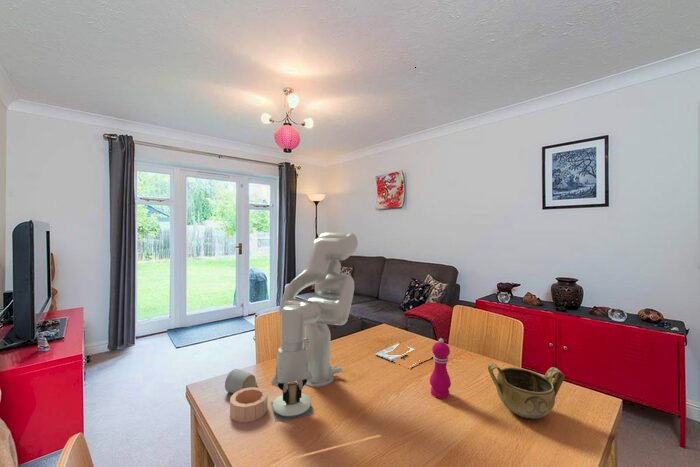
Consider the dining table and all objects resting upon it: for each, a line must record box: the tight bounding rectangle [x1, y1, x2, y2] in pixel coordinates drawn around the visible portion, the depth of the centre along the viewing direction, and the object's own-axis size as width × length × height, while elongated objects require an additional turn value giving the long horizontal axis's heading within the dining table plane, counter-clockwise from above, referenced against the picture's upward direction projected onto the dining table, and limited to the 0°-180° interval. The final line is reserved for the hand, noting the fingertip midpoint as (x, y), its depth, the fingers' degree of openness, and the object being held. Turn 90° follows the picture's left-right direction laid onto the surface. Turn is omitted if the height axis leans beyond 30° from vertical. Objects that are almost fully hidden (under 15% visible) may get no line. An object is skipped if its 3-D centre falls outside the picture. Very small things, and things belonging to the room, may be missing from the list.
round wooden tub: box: [229, 386, 268, 423], centre depth 97 cm, size 11×11×5 cm
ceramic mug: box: [224, 368, 258, 394], centre depth 110 cm, size 11×8×8 cm
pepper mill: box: [429, 338, 452, 399], centre depth 110 cm, size 7×7×20 cm
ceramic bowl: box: [487, 362, 565, 420], centre depth 100 cm, size 22×17×15 cm
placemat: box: [270, 401, 315, 423], centre depth 99 cm, size 12×11×1 cm
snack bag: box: [374, 342, 420, 367], centre depth 141 cm, size 19×20×2 cm
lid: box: [272, 381, 312, 416], centre depth 99 cm, size 12×12×8 cm
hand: (292, 400), depth 99 cm, fingers closed on lid, 3 cm apart
